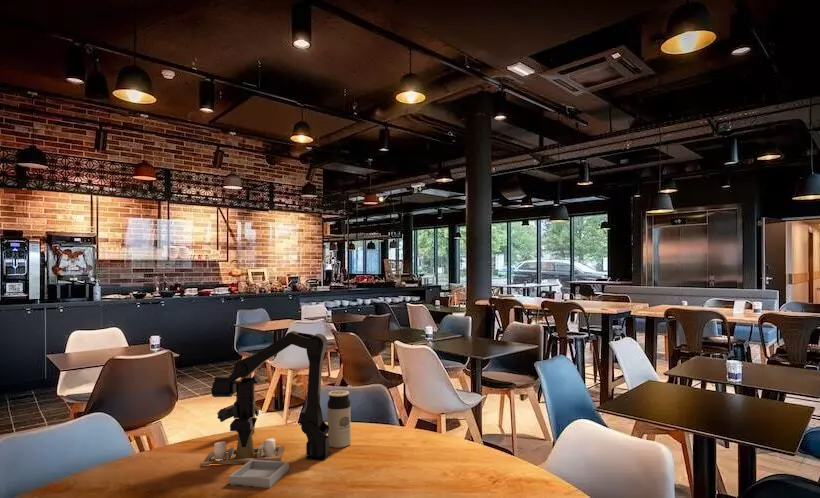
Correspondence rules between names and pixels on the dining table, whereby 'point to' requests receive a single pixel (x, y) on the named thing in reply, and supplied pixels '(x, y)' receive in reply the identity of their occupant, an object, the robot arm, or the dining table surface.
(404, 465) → the dining table surface
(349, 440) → the travel mug
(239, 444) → the cork
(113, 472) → the dining table surface
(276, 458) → the ladder
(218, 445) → the white short cylinder
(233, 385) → the robot arm
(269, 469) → the tray
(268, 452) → the cylinder
